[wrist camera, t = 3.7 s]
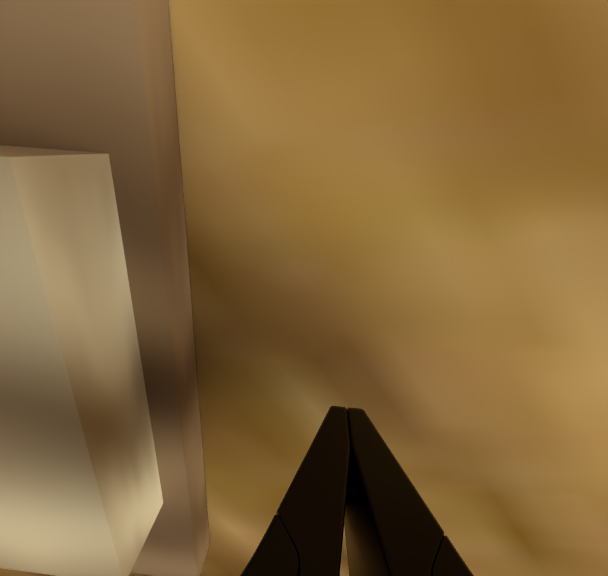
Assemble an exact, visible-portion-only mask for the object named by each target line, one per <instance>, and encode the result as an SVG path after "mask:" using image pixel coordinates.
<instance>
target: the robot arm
mask: <svg viewBox="0 0 608 576" xmlns="http://www.w3.org/2000/svg"><path fill="white" fill-rule="evenodd" d="M344 526H345V536H346V546H347V556H348V566H349V576H474V575H473V574H472V573H471V571H470V570H469V568H468V567H467V565H466V564H465V562H464V561H463V560H462V558H461V557H460V555H459V554H458V552H457V551H456V549H455V548H454V546H453V545H452V543H451V541H450V540H449V538H448V537H447V536H444V531H443V530H442V528H441V527H440V525H439V524H438V522H437V520H436V519H435V517H434V516H433V514H432V513H431V511H430V510H429V508H428V507H427V505H426V504H425V502H424V501H423V499H422V498H421V496H420V495H419V493H418V492H417V490H416V489H415V487H414V486H413V484H412V483H411V481H410V480H409V478H408V477H407V475H406V474H405V472H404V470H403V469H402V467H401V466H400V464H399V463H398V461H397V460H396V458H395V457H394V455H393V454H392V452H391V451H390V449H389V448H388V446H387V445H386V443H385V442H384V440H383V439H382V437H381V436H380V434H379V433H378V431H377V430H376V428H375V427H374V425H373V424H372V422H371V420H370V419H369V417H368V416H367V414H366V413H365V411H364V410H362V409H358V408H348V409H346V408H345V407H339V406H331V407H330V409H329V411H328V413H327V415H326V417H325V418H324V420H323V422H322V424H321V426H320V428H319V430H318V432H317V434H316V436H315V438H314V440H313V442H312V444H311V446H310V448H309V450H308V452H307V454H306V456H305V458H304V459H303V461H302V463H301V465H300V467H299V469H298V471H297V473H296V475H295V477H294V479H293V481H292V483H291V485H290V487H289V489H288V491H287V493H286V495H285V497H284V499H283V500H282V502H281V504H280V506H279V508H278V510H277V513H276V515H275V516H274V518H273V520H272V522H271V523H270V525H269V527H268V529H267V531H266V533H265V535H264V537H263V538H262V540H261V542H260V544H259V546H258V547H257V549H256V551H255V553H254V555H253V556H252V558H251V559H250V561H249V563H248V564H247V566H246V567H245V569H244V571H243V572H242V574H241V575H240V576H339V575H340V563H341V552H342V541H343V530H344Z"/></svg>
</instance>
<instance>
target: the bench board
mask: <svg viewBox="0 0 608 576" xmlns="http://www.w3.org/2000/svg"><path fill="white" fill-rule="evenodd" d="M0 145H5V146H18V147H31V148H44V149H57V150H70V151H83V152H96V153H109V159H110V166H111V172H112V178H113V185H114V191H115V197H116V204H117V210H118V217H119V223H120V229H121V236H122V242H123V248H124V255H125V261H126V268H127V274H128V280H129V287H130V293H131V299H132V306H133V312H134V319H135V325H136V331H137V338H138V344H139V350H140V357H141V363H142V370H143V376H144V382H145V389H146V395H147V402H148V408H149V414H150V421H151V427H152V433H153V440H154V446H155V453H156V459H157V465H158V472H159V478H160V484H161V491H162V497H163V505H162V507H161V509H160V511H159V513H158V515H157V517H156V519H155V522H154V524H153V526H152V528H151V530H150V532H149V534H148V536H147V538H146V541H145V543H144V545H143V547H142V549H141V551H140V553H139V555H138V558H137V560H136V562H135V564H134V566H133V568H132V570H131V572H130V573H136V574H144V575H151V576H200V574H201V571H202V567H203V564H204V561H205V558H206V554H207V551H208V548H209V544H210V538H209V525H208V512H207V499H206V486H205V473H204V460H203V447H202V434H201V421H200V408H199V395H198V382H197V368H196V355H195V342H194V329H193V316H192V303H191V290H190V277H189V264H188V251H187V238H186V225H185V212H184V199H183V186H182V172H181V159H180V146H179V133H178V120H177V107H176V94H175V81H174V68H173V55H172V42H171V29H170V16H169V3H168V0H0Z"/></svg>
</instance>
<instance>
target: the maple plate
mask: <svg viewBox="0 0 608 576" xmlns="http://www.w3.org/2000/svg"><path fill="white" fill-rule="evenodd" d="M162 505H163V497H162V491H161V484H160V478H159V472H158V465H157V459H156V453H155V446H154V440H153V433H152V427H151V421H150V414H149V408H148V402H147V395H146V389H145V382H144V376H143V370H142V363H141V357H140V350H139V344H138V338H137V331H136V325H135V319H134V312H133V306H132V299H131V293H130V287H129V280H128V274H127V268H126V261H125V255H124V248H123V242H122V236H121V229H120V223H119V217H118V210H117V204H116V197H115V191H114V185H113V178H112V172H111V166H110V159H109V153H96V152H83V151H70V150H57V149H44V148H31V147H18V146H5V145H0V568H4V569H11V570H19V571H26V572H33V573H41V574H48V575H55V576H129V574H130V572H131V570H132V568H133V566H134V564H135V562H136V560H137V558H138V555H139V553H140V551H141V549H142V547H143V545H144V543H145V541H146V538H147V536H148V534H149V532H150V530H151V528H152V526H153V524H154V522H155V519H156V517H157V515H158V513H159V511H160V509H161V507H162Z"/></svg>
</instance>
